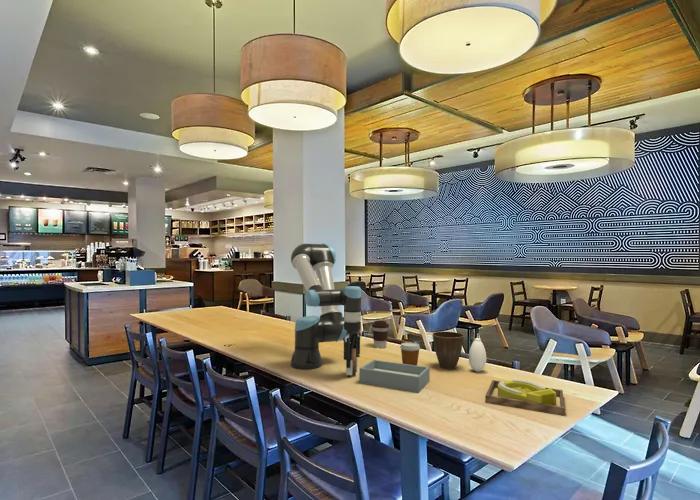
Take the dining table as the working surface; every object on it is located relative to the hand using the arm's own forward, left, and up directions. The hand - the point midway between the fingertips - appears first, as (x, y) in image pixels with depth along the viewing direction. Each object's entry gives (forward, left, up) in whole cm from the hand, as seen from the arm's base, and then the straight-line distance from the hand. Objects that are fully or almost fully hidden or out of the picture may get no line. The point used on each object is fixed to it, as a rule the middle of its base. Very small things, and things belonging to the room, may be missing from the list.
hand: (351, 373), depth 180 cm
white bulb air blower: (+49, +35, -1) cm, 60 cm away
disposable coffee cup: (+20, +22, -1) cm, 30 cm away
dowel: (0, 0, -1) cm, 1 cm away
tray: (+20, +1, -1) cm, 20 cm away
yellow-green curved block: (+71, +5, -1) cm, 71 cm away
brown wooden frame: (+71, +5, -1) cm, 71 cm away
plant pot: (+35, +35, -1) cm, 50 cm away
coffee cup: (-10, +59, -1) cm, 60 cm away
